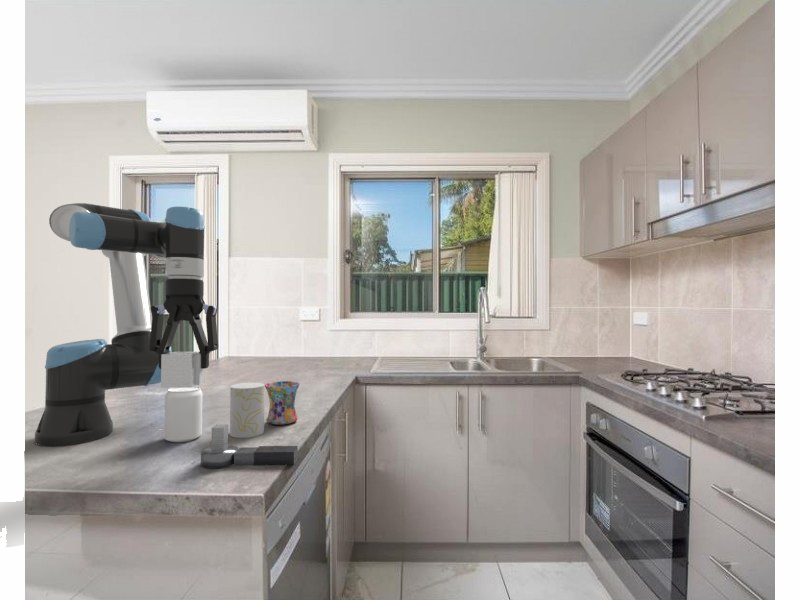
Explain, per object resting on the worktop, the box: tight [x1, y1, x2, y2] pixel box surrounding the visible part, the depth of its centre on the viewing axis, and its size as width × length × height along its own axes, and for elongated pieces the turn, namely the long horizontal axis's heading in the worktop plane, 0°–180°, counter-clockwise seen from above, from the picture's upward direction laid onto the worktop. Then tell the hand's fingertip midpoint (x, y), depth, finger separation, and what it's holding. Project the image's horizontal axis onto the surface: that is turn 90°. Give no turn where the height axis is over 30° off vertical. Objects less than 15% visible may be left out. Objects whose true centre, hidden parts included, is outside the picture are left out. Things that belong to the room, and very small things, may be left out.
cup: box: [229, 382, 265, 439], centre depth 107 cm, size 8×8×12 cm
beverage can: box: [164, 385, 203, 443], centre depth 102 cm, size 8×8×12 cm
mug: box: [264, 380, 301, 426], centre depth 118 cm, size 12×9×11 cm
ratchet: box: [200, 423, 299, 470], centre depth 87 cm, size 19×7×8 cm, turn 92°
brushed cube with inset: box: [160, 351, 200, 389], centre depth 92 cm, size 6×6×7 cm
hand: (183, 383), depth 92 cm, fingers closed on brushed cube with inset, 6 cm apart
